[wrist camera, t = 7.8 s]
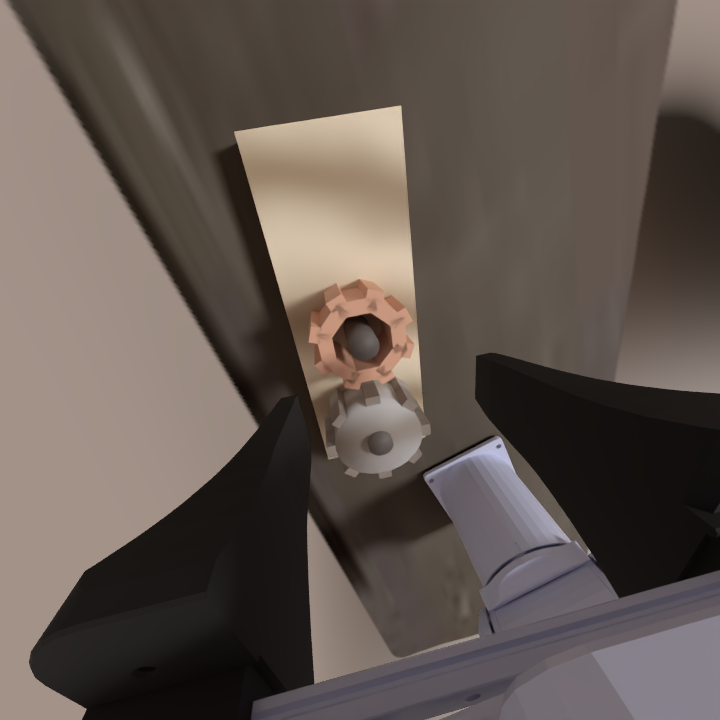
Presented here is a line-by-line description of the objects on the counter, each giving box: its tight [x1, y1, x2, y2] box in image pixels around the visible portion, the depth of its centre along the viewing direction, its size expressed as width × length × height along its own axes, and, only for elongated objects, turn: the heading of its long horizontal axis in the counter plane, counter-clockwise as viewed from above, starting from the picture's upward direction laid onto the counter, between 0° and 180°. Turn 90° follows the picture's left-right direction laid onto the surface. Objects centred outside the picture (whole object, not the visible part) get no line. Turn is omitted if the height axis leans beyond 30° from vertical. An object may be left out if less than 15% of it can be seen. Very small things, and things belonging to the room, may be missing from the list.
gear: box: [308, 279, 415, 390], centre depth 17 cm, size 6×6×3 cm
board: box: [234, 106, 431, 479], centre depth 17 cm, size 21×8×5 cm, turn 9°
